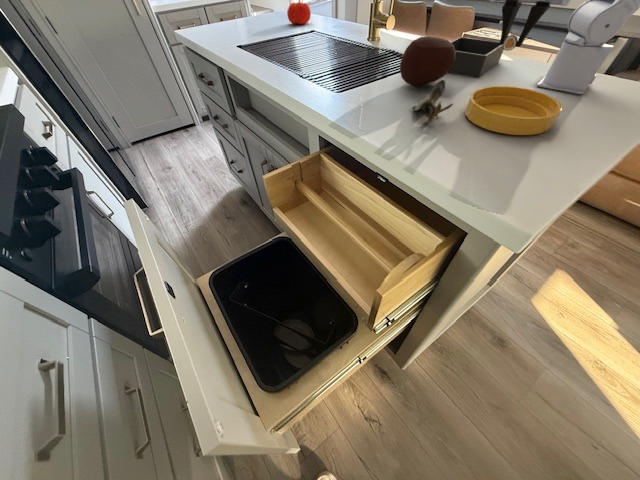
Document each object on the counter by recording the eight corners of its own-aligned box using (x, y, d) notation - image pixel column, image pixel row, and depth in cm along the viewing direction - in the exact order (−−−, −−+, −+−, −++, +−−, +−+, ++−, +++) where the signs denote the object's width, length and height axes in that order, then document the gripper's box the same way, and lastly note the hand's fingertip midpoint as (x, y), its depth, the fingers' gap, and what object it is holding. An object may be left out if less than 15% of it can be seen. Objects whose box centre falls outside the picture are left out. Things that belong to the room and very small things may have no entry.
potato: (455, 89, 67) (471, 39, 59) (406, 96, 65) (416, 44, 58) (434, 75, 74) (445, 28, 66) (389, 80, 73) (395, 33, 65)
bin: (498, 63, 79) (506, 42, 75) (478, 77, 72) (486, 56, 68) (454, 56, 85) (460, 36, 81) (432, 68, 78) (437, 48, 74)
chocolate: (517, 50, 62) (527, 28, 59) (511, 52, 61) (520, 30, 58) (505, 47, 64) (514, 26, 61) (499, 49, 63) (508, 28, 60)
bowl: (559, 115, 56) (570, 97, 53) (537, 146, 48) (549, 127, 46) (481, 97, 63) (487, 80, 61) (451, 121, 56) (457, 104, 53)
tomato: (286, 22, 130) (284, 2, 125) (308, 20, 132) (307, 0, 126) (290, 27, 123) (288, 5, 118) (313, 24, 125) (312, 3, 119)
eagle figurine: (458, 120, 53) (450, 94, 58) (448, 90, 49) (441, 65, 53) (419, 137, 57) (415, 112, 62) (407, 112, 53) (403, 86, 57)
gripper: (498, -39, 53) (471, 44, 63) (586, -39, 46) (540, 53, 57) (509, -41, 57) (482, 37, 67) (593, -42, 50) (549, 46, 60)
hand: (510, 44), depth 62 cm, fingers closed on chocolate, 3 cm apart
